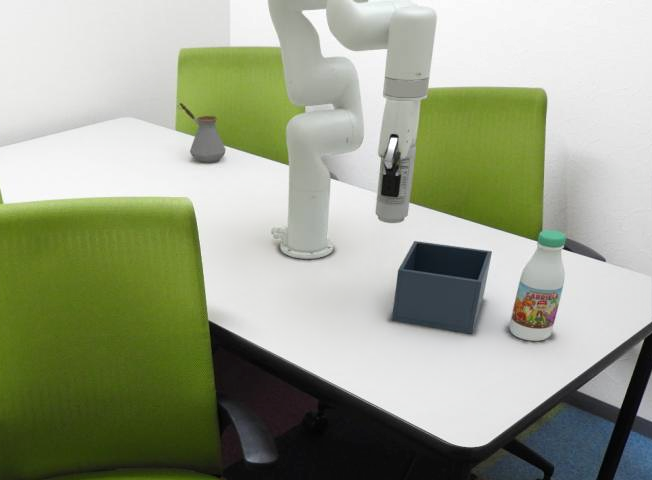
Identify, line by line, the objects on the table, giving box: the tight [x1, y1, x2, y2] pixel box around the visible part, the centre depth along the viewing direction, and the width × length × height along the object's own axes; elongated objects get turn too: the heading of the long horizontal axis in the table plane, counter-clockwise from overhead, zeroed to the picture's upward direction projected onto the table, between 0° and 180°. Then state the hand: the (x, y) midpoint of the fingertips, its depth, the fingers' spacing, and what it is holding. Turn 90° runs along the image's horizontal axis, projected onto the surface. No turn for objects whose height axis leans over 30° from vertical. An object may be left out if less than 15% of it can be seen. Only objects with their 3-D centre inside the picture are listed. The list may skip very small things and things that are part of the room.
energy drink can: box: [375, 139, 417, 224], centre depth 139 cm, size 6×6×15 cm
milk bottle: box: [509, 229, 567, 342], centre depth 141 cm, size 8×8×20 cm
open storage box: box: [391, 240, 493, 335], centre depth 152 cm, size 16×16×11 cm
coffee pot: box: [177, 102, 226, 164], centre depth 244 cm, size 21×12×15 cm, turn 35°
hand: (394, 189), depth 141 cm, fingers closed on energy drink can, 6 cm apart
